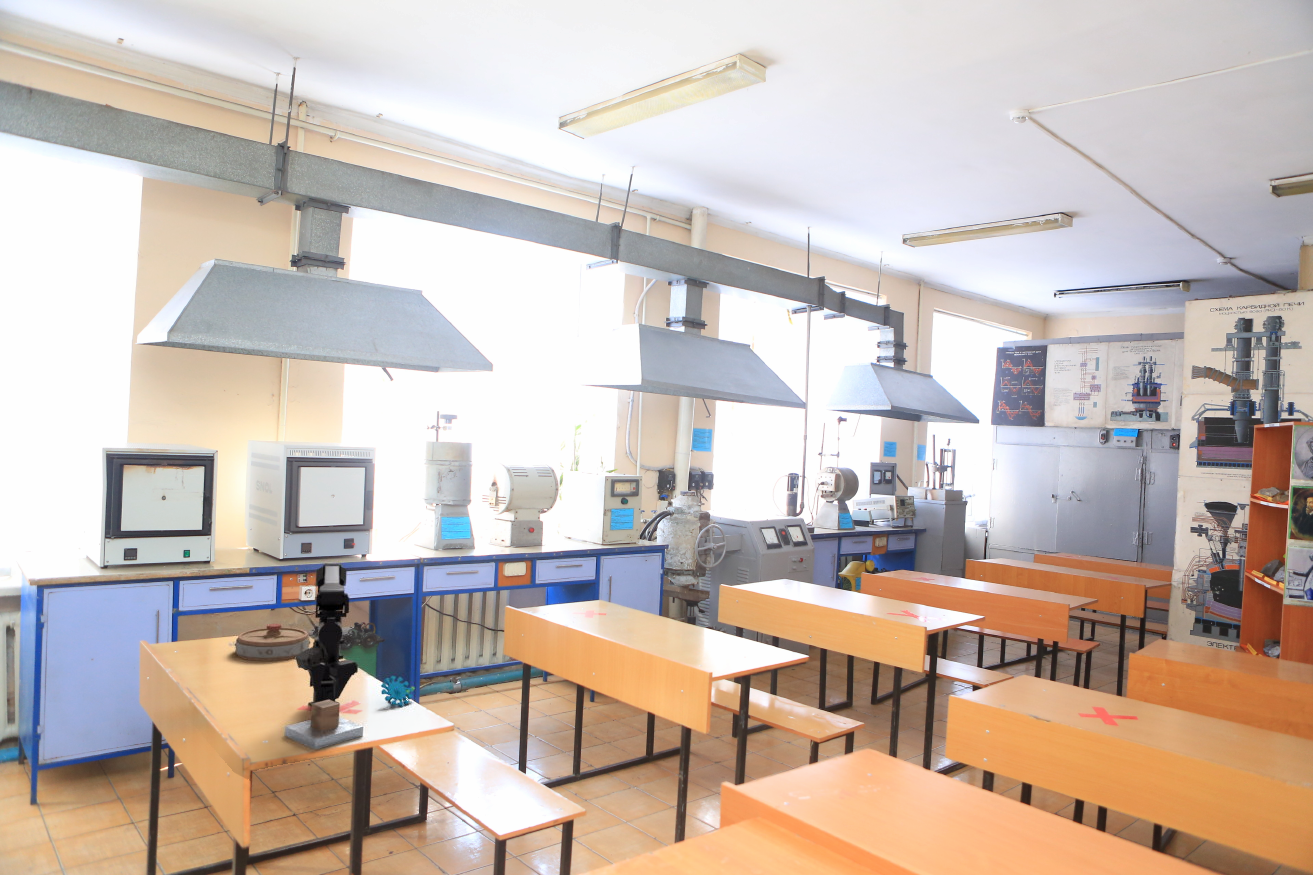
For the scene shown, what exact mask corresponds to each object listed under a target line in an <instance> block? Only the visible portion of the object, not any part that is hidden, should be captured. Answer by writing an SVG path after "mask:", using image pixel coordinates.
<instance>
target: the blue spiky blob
mask: <svg viewBox="0 0 1313 875" xmlns="http://www.w3.org/2000/svg"><path fill="white" fill-rule="evenodd" d="M395 679H396V676H395V675H391V676H390V678H389V677H386V678H385V679H384V680H383V681H384V682H382V684H381V685H380V687H381V688H383V689H382V690H381V691H380V693H381V695H386V696H385V697H384V700H385V701H386V702H390V704H391V705H392V706H395V705H397V706H398V707H400V708H402V707H403V706H404V705H409V703H410V700H411V699H412V698H413V695H412V694H411V693H412V692H413V691H414V690H415V686H411V687H408V686H409V682H408V681H404V682H402V681H403V680H404V679H403V678H402V677H401V676H399V677H398V678H397V681H395ZM401 682H402V683H401ZM406 699H407V700H408V701H407V700H406ZM391 700H392V701H391ZM403 700H404V701H403ZM398 701H399V702H398ZM397 702H398V703H397Z"/></svg>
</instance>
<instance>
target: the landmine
mask: <svg viewBox="0 0 1313 875" xmlns="http://www.w3.org/2000/svg"><path fill="white" fill-rule="evenodd" d="M310 645H311V640H310V635H309V633H308V631H306V630H304V629H301V628H296V627H282V624H281V623H269V624H267V625H266V627H263V628H262V627H261V628H255V629H254V628H253V629H248V630H247V631H243V632H241V633H240V634H238V636H237V638H236V640H235V643H234V646H235V653H236V654H237V656H238V657H239V658H241V659H245V660H249V661H259V662H260V661H261V662H262V661H263V662H264V661H265V662H267V661H269V662H270V661H282V660H283V661H284V660H289V659H290V660H291V659H293V658H295V656H296V655H298V654H299V653H301V652H303V651H305V650H306V649H309V648H310Z"/></svg>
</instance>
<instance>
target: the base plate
mask: <svg viewBox="0 0 1313 875" xmlns="http://www.w3.org/2000/svg"><path fill="white" fill-rule="evenodd" d="M363 735H364V726H363V725H361V724H358V723H356V722H354V721H351V720H348V719H346V718H344V717H341V716H339V724H338V727H334V728H330V729H327V730H323V731H320V730H318V729H316V728H313V727H311V719H308V720H305V721H301V722H300V721H299V722H297V723H292V724H289V725H286V726H285V727H284V737H287V738H289V739H290V740H293V741H295V742H297V743H299V744H302V745H303V746H305V747H308V748H311V749H313V750H315V751H316V750H319V749H322V748H326V747H328V746H331V745H336V744H338V743H339V744H340V743H342V742H346V741H350V740H352V739H356V738H357V739H358V738H360V737H363Z"/></svg>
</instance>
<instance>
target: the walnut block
mask: <svg viewBox="0 0 1313 875" xmlns="http://www.w3.org/2000/svg"><path fill="white" fill-rule="evenodd" d="M336 702H337V701H336ZM336 702H334V701H331V700H325V701H321V702H317V703H312V706H311V712H310V713H311V714H310V720H311V727H313V728H316V729H318V730H320V731H323V730H327V729H330V728H334V727H338V724H339V717H340V702H339V703H336Z"/></svg>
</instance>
